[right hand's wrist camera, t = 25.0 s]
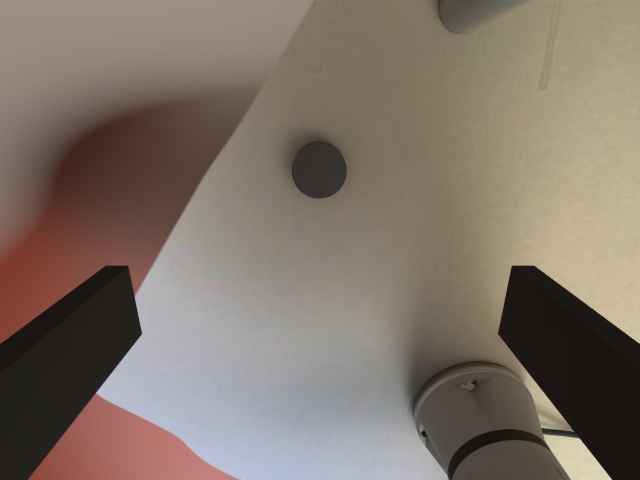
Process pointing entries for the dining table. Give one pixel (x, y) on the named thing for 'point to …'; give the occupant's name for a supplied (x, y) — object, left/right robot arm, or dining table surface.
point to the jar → (473, 12)
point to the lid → (319, 170)
